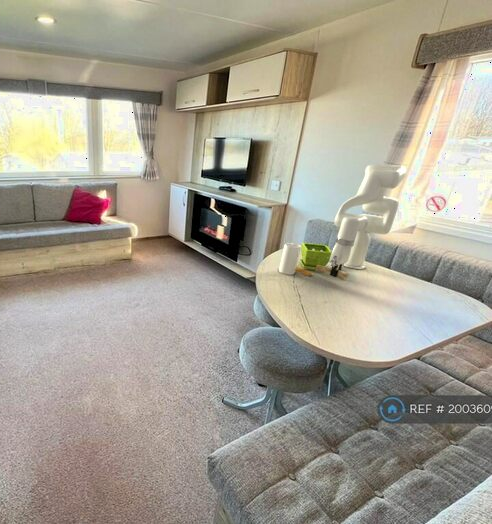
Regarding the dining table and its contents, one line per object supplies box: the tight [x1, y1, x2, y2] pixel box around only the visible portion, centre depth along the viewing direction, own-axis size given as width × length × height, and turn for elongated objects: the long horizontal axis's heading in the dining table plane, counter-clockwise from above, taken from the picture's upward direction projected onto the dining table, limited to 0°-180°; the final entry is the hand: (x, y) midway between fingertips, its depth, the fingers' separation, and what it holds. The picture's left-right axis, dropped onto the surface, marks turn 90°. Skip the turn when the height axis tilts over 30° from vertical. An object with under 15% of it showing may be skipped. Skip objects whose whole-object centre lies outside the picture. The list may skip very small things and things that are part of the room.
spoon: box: [314, 265, 349, 281], centre depth 162 cm, size 16×5×4 cm, turn 32°
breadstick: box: [295, 265, 313, 277], centre depth 176 cm, size 10×2×2 cm, turn 32°
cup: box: [278, 242, 302, 276], centre depth 173 cm, size 8×8×16 cm
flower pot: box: [299, 242, 333, 271], centre depth 182 cm, size 14×14×13 cm
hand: (334, 275), depth 161 cm, fingers closed on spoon, 2 cm apart
